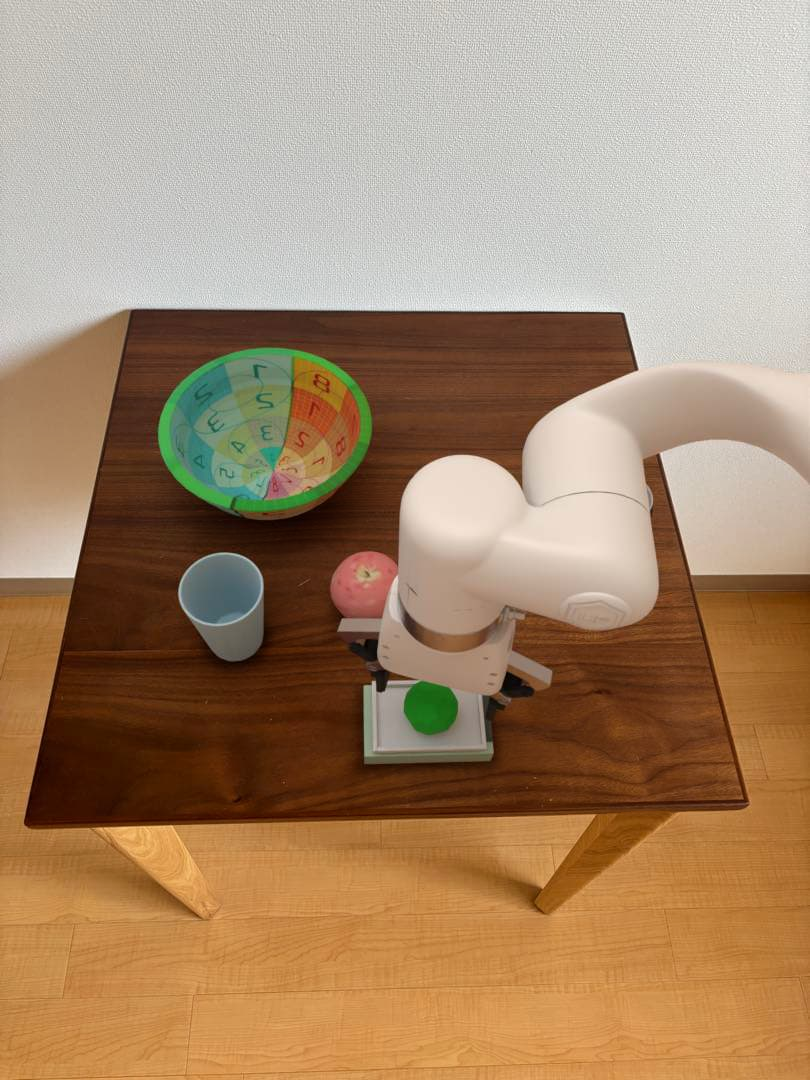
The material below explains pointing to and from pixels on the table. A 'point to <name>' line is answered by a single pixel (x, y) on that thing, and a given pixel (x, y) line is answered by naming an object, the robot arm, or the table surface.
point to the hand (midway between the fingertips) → (437, 690)
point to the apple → (363, 584)
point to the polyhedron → (430, 707)
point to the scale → (401, 743)
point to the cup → (225, 604)
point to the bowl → (265, 432)
